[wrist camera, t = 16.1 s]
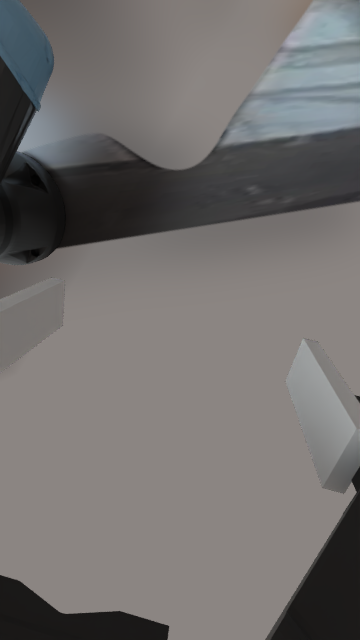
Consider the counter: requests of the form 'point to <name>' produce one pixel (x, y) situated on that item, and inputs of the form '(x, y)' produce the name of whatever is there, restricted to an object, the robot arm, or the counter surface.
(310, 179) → the counter surface
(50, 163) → the counter surface
